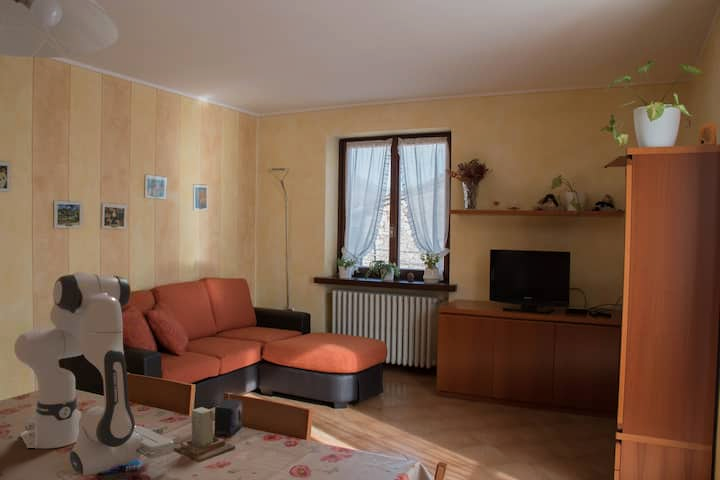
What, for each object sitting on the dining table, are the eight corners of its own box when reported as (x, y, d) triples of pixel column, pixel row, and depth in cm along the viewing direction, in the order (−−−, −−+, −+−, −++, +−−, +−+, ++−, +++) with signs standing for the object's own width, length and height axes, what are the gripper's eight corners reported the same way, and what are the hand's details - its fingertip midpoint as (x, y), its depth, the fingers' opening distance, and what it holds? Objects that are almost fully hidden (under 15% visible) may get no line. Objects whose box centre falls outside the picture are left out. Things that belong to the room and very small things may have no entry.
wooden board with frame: (164, 445, 195) (164, 438, 195) (199, 433, 206) (199, 427, 206) (199, 461, 182) (199, 454, 182) (235, 448, 193) (235, 441, 193)
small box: (230, 438, 202) (231, 408, 202) (213, 436, 203) (213, 406, 203) (242, 427, 212) (243, 399, 212) (226, 425, 214) (226, 397, 213)
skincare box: (213, 446, 192) (213, 410, 192) (202, 450, 189) (203, 413, 188) (201, 441, 196) (201, 406, 196) (190, 445, 193) (191, 409, 192)
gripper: (147, 445, 166) (189, 432, 176) (112, 428, 179) (153, 416, 189) (147, 467, 166) (189, 452, 177) (112, 448, 179) (153, 435, 190)
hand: (170, 434), depth 183 cm, fingers open, 8 cm apart
